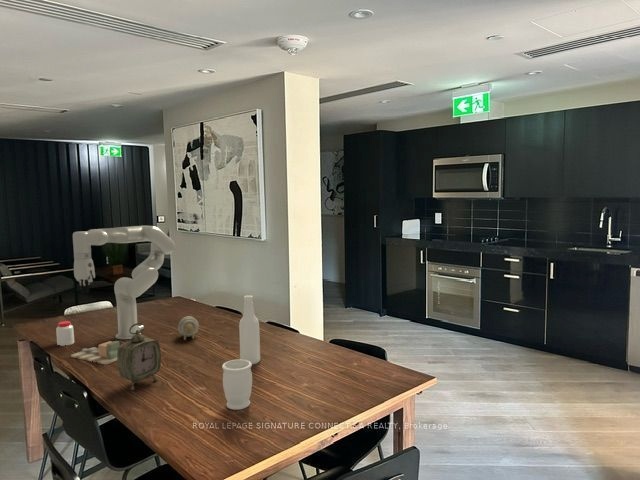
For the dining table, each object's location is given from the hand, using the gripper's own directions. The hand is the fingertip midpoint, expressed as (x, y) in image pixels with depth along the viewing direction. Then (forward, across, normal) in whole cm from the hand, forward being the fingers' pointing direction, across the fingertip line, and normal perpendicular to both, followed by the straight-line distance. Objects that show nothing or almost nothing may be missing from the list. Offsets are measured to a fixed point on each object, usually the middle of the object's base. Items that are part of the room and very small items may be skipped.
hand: (85, 293), depth 231 cm
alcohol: (+27, -87, -16) cm, 93 cm away
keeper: (+26, -24, +8) cm, 36 cm away
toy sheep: (+27, -36, -32) cm, 56 cm away
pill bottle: (+27, +15, +2) cm, 31 cm away
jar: (+27, -108, +21) cm, 113 cm away
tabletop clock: (+27, -61, +23) cm, 71 cm away
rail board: (+27, -18, +8) cm, 34 cm away
